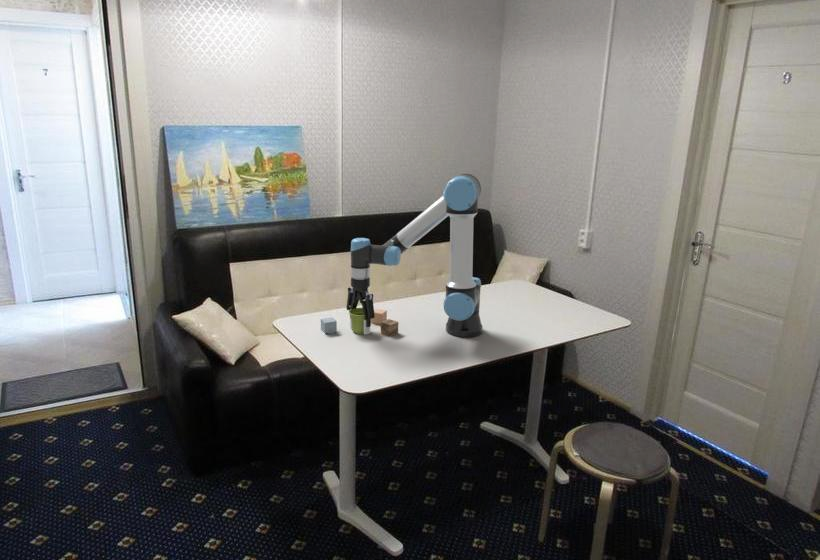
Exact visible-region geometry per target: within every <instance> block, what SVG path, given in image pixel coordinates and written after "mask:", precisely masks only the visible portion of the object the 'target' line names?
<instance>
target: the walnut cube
mask: <svg viewBox="0 0 820 560" xmlns="http://www.w3.org/2000/svg"><path fill="white" fill-rule="evenodd" d="M380 334H381V335H383V336H387V337H393V336H395V335H397V334H399V321H397V320H393V319H390V318H389V319H387V320H385V321H383V322H381V325H380Z"/></svg>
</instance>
